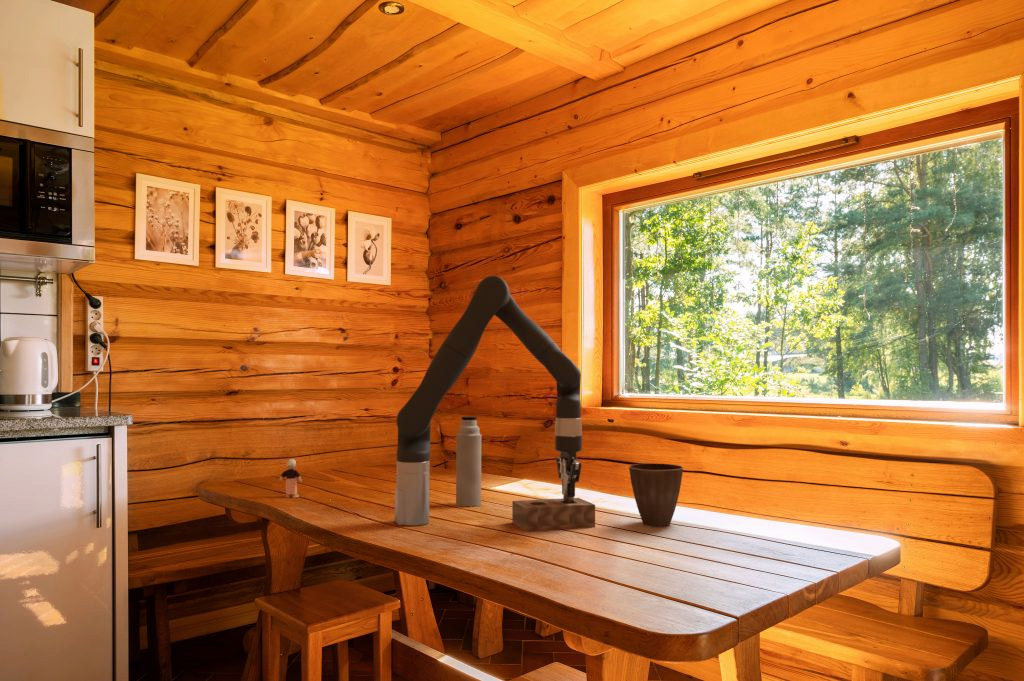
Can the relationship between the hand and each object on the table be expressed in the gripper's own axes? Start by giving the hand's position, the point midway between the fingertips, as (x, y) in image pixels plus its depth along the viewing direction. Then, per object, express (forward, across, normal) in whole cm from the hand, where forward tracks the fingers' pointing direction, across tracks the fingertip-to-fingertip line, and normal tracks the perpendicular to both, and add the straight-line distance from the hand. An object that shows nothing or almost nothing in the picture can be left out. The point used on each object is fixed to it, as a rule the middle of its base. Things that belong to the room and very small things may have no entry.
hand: (568, 495), depth 210 cm
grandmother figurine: (+8, -68, -74) cm, 100 cm away
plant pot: (+8, +7, +23) cm, 26 cm away
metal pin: (+5, 0, 0) cm, 5 cm away
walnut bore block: (+8, 0, -5) cm, 9 cm away
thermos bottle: (+8, -37, -20) cm, 43 cm away
